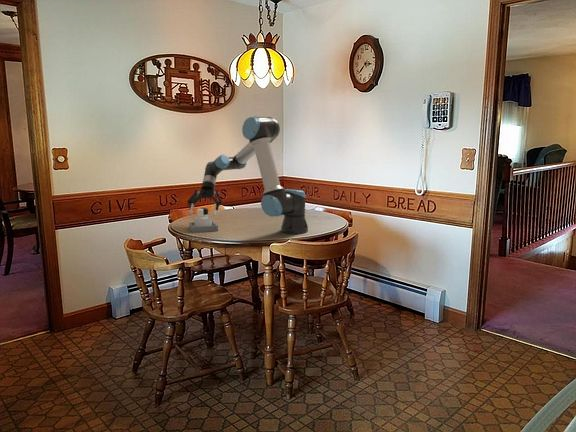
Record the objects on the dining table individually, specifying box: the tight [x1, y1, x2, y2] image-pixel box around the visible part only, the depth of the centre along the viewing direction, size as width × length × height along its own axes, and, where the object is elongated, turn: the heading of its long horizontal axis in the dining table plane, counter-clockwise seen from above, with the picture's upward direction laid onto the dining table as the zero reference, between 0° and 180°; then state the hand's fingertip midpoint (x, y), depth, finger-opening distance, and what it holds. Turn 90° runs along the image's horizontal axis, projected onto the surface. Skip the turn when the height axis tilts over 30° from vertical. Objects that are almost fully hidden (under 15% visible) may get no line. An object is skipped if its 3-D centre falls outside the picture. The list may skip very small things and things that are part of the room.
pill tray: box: [188, 220, 219, 234], centre depth 255 cm, size 14×14×3 cm
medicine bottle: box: [193, 207, 213, 227], centre depth 255 cm, size 7×7×12 cm
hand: (202, 214), depth 256 cm, fingers open, 13 cm apart
